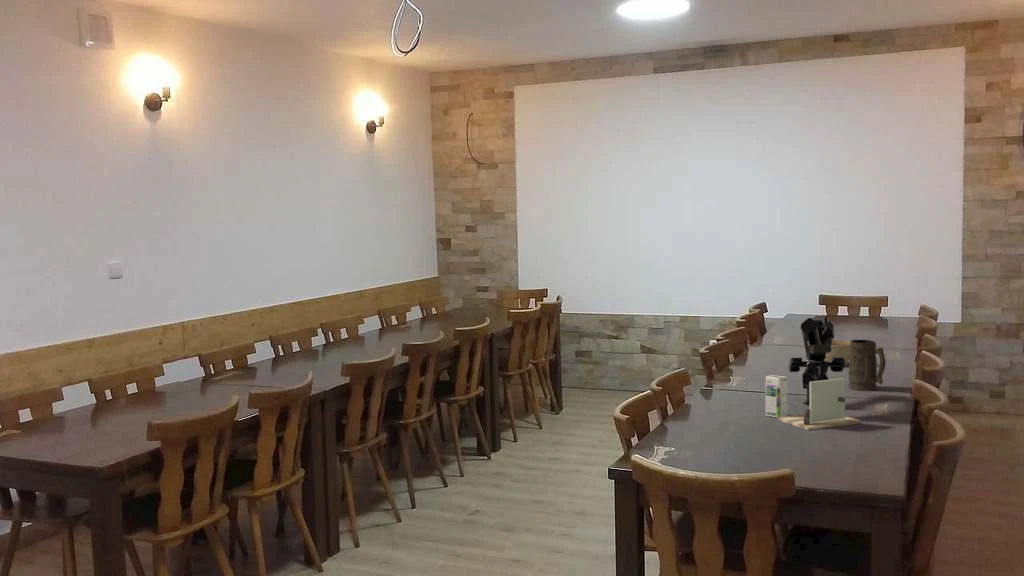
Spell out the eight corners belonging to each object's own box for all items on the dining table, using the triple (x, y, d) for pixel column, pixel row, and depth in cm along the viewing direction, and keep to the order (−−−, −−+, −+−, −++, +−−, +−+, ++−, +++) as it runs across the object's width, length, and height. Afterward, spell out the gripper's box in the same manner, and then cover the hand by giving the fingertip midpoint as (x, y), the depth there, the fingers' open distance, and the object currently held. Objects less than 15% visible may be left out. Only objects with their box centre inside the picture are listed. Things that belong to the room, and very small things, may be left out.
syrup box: (764, 416, 302) (764, 376, 300) (774, 413, 305) (774, 374, 304) (778, 418, 297) (778, 378, 296) (788, 415, 301) (788, 376, 300)
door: (809, 422, 285) (809, 381, 284) (842, 417, 290) (842, 378, 289) (814, 423, 283) (814, 383, 282) (848, 419, 287) (848, 379, 286)
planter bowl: (810, 363, 402) (810, 341, 401) (838, 361, 407) (838, 339, 406) (832, 369, 387) (832, 345, 386) (861, 366, 392) (861, 343, 391)
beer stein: (841, 388, 345) (845, 340, 342) (854, 384, 352) (857, 337, 349) (878, 395, 333) (882, 346, 331) (890, 391, 341) (894, 343, 338)
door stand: (777, 419, 296) (777, 403, 295) (829, 413, 302) (829, 397, 302) (807, 430, 280) (807, 412, 280) (860, 423, 287) (860, 406, 287)
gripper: (790, 335, 301) (796, 371, 291) (844, 335, 298) (852, 371, 288) (785, 353, 309) (792, 389, 299) (838, 353, 307) (846, 388, 297)
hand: (820, 384), depth 296 cm, fingers closed
